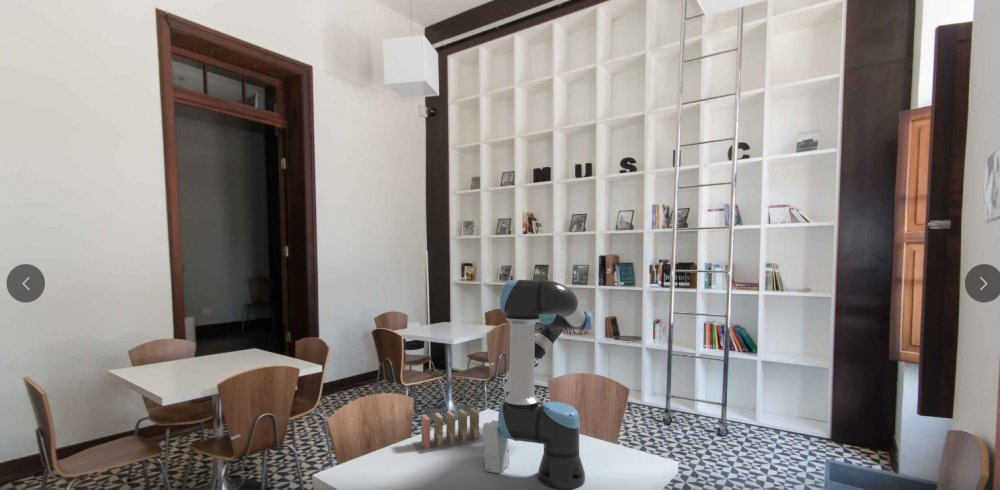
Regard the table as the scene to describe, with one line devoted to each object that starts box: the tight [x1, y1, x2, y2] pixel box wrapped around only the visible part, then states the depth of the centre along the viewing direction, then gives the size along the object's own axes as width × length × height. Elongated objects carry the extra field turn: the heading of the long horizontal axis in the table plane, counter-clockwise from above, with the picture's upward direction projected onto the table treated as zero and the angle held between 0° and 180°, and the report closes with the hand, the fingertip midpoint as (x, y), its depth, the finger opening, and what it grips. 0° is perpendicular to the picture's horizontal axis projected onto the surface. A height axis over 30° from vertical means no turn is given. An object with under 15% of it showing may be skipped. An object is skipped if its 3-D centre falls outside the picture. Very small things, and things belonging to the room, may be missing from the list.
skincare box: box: [482, 420, 510, 474], centre depth 153 cm, size 8×6×15 cm
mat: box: [411, 432, 483, 454], centre depth 174 cm, size 28×11×1 cm, turn 115°
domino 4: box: [457, 409, 468, 443], centre depth 176 cm, size 2×6×11 cm, turn 25°
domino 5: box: [469, 407, 480, 441], centre depth 178 cm, size 2×6×11 cm, turn 25°
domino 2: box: [433, 412, 444, 447], centre depth 172 cm, size 2×6×11 cm, turn 25°
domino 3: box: [445, 410, 456, 445], centre depth 174 cm, size 2×6×11 cm, turn 25°
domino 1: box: [421, 414, 431, 450], centre depth 169 cm, size 2×6×11 cm, turn 25°
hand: (504, 389), depth 185 cm, fingers closed
